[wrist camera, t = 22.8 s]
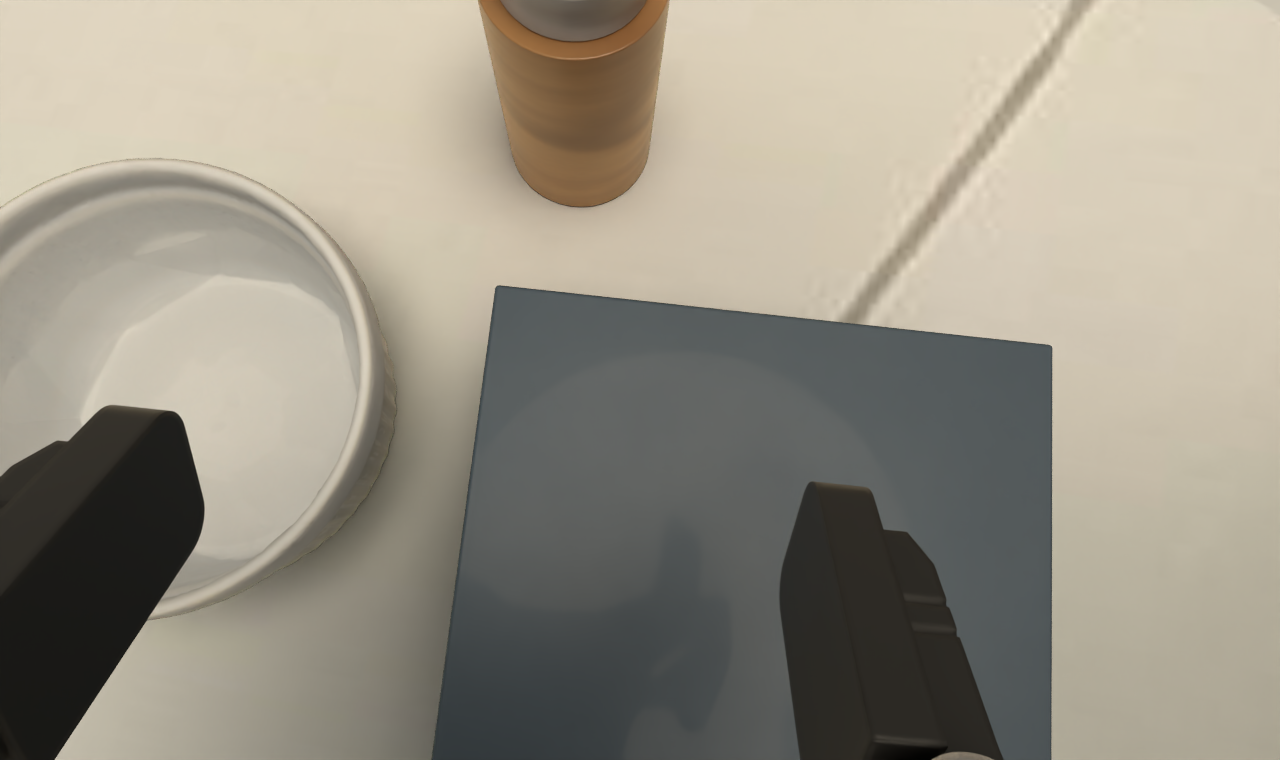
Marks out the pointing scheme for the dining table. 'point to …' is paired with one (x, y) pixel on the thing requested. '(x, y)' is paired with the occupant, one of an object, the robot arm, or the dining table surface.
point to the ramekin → (199, 351)
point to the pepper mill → (577, 90)
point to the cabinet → (726, 521)
